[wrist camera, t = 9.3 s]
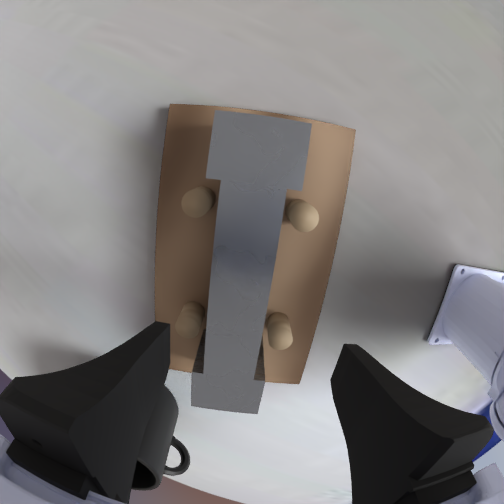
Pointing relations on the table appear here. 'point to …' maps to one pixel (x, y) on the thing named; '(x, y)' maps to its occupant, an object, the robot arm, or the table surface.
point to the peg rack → (289, 247)
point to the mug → (159, 445)
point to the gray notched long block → (244, 251)
